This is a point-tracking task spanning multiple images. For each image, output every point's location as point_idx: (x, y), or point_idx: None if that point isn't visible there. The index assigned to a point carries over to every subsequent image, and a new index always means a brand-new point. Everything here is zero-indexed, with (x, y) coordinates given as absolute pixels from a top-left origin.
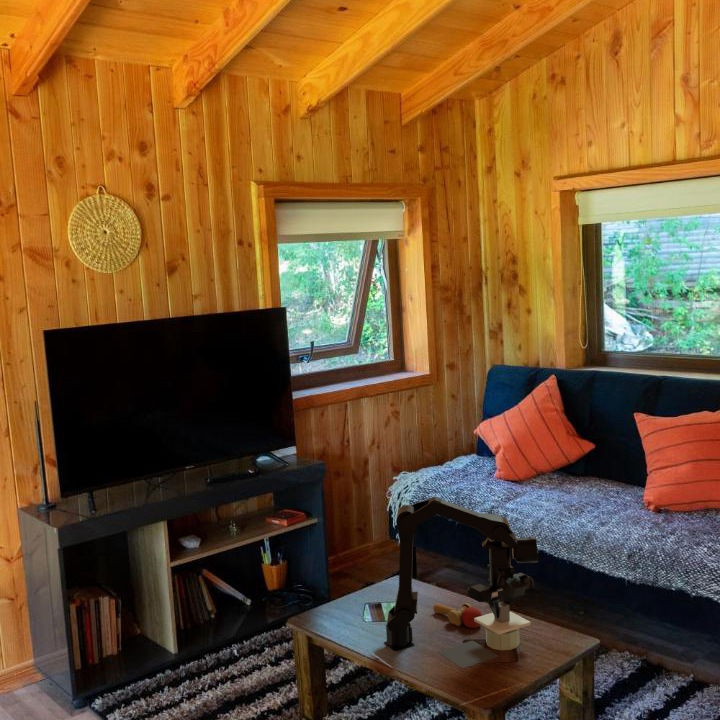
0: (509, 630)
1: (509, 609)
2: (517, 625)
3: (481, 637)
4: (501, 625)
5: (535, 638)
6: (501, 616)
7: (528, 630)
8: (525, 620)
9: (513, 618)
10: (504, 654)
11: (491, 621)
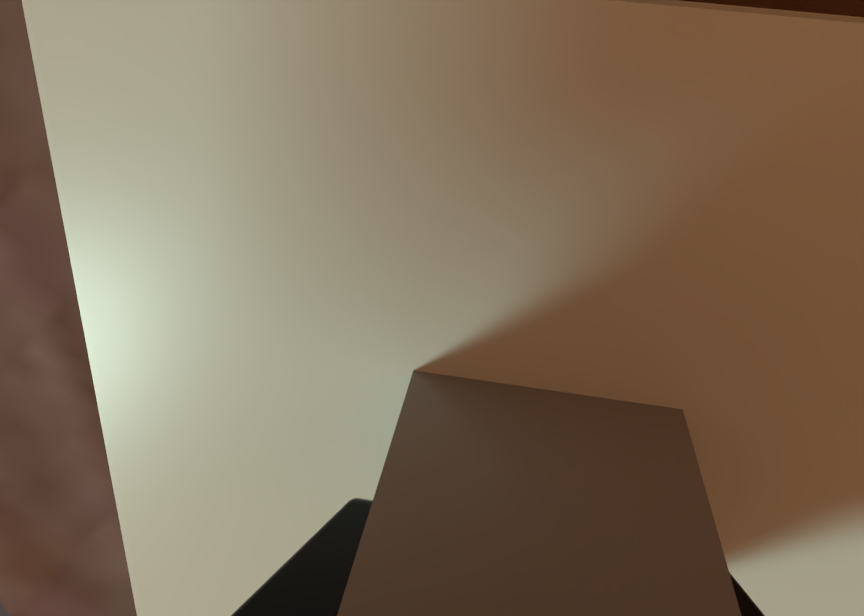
0: (816, 14)
1: (287, 610)
2: (482, 13)
3: None
4: (805, 318)
5: None
6: (696, 532)
7: (50, 303)
8: (90, 117)
9: (272, 383)
10: (782, 8)
11: (759, 582)
